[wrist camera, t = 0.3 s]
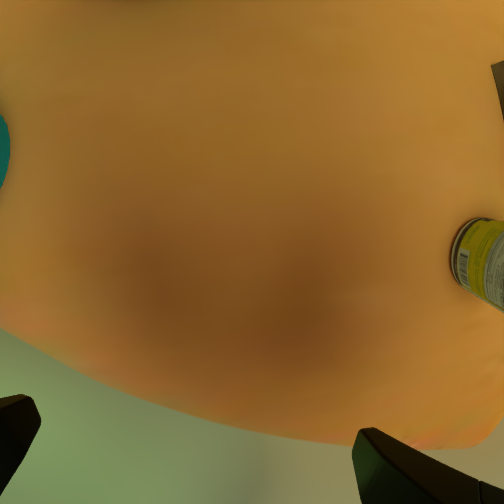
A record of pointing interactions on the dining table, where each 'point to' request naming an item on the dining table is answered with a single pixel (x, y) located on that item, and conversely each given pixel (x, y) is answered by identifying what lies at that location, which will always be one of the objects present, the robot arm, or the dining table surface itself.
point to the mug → (4, 149)
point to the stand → (499, 81)
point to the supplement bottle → (481, 260)
